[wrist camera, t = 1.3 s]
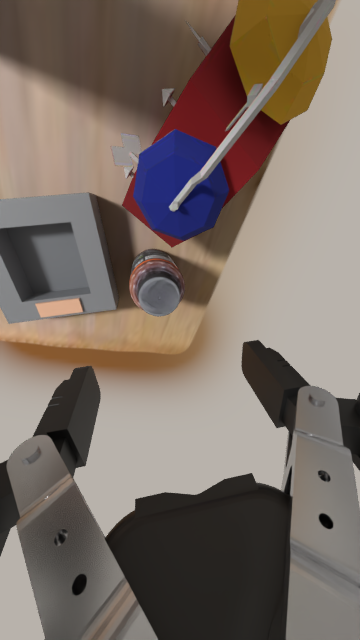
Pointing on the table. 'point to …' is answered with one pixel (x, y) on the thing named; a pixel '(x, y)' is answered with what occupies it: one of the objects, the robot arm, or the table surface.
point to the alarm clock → (227, 115)
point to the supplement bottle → (156, 283)
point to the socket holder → (54, 258)
